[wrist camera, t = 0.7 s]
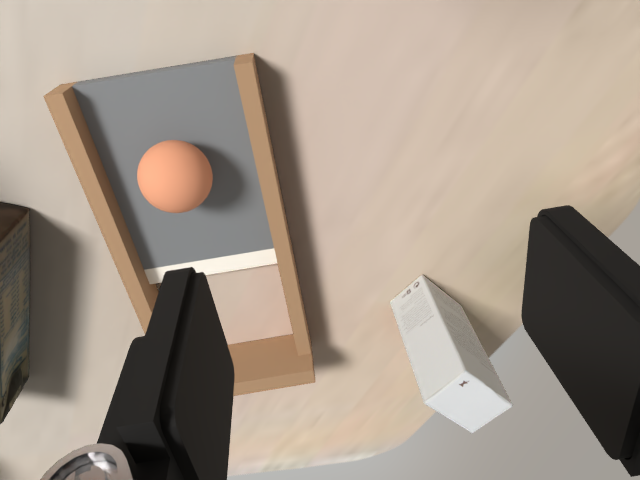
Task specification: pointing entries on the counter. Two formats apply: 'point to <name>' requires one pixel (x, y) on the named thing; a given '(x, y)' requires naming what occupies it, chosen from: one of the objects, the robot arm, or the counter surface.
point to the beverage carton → (14, 303)
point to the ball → (174, 176)
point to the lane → (212, 214)
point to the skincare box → (448, 356)
